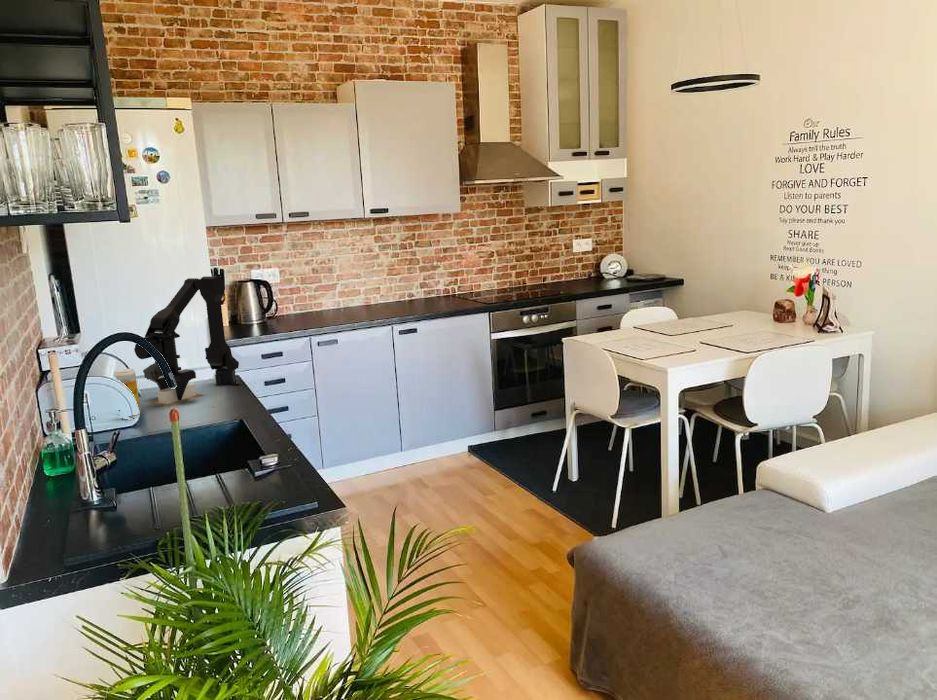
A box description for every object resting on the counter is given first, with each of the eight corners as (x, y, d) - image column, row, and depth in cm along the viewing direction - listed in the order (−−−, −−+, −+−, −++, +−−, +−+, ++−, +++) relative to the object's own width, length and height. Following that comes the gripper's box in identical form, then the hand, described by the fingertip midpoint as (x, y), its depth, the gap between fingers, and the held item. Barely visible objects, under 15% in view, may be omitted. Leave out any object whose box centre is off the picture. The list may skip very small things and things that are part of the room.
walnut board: (182, 394, 257) (182, 391, 257) (206, 397, 251) (206, 394, 251) (145, 405, 244) (144, 402, 244) (169, 409, 239) (169, 406, 238)
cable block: (188, 394, 253) (187, 382, 253) (196, 395, 251) (195, 383, 251) (158, 402, 243) (157, 391, 242) (167, 404, 241) (165, 392, 240)
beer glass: (119, 421, 227) (112, 373, 224) (120, 416, 232) (113, 369, 230) (140, 418, 229) (134, 371, 226) (141, 413, 235) (135, 367, 232)
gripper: (127, 356, 240) (133, 402, 243) (165, 359, 231) (171, 408, 234) (156, 349, 250) (161, 394, 253) (194, 352, 241) (199, 399, 244)
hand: (172, 399), depth 245 cm, fingers open, 6 cm apart
